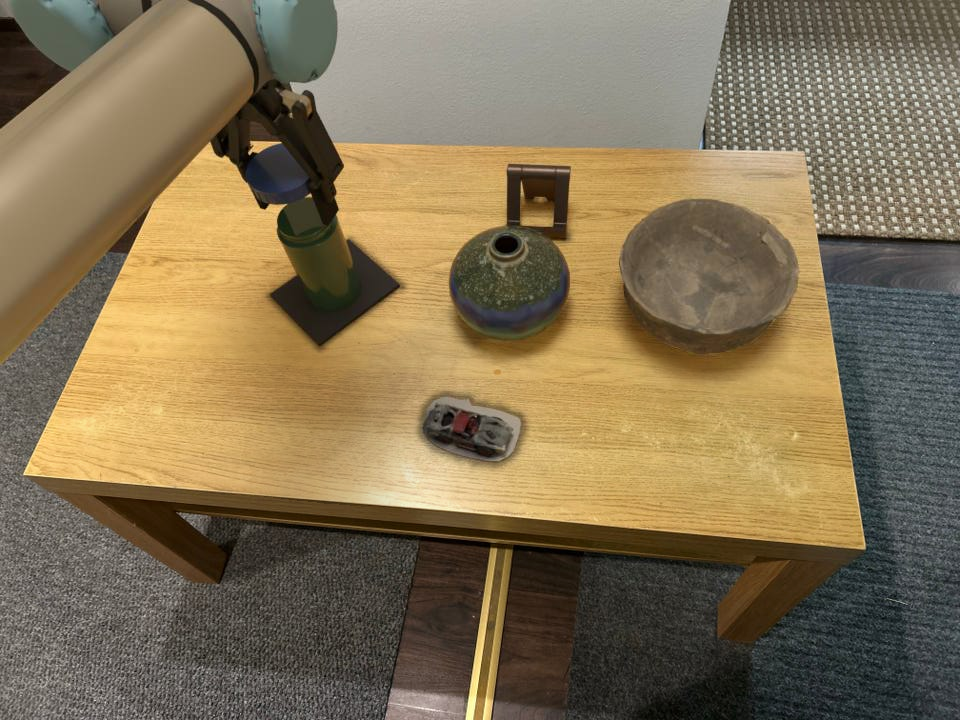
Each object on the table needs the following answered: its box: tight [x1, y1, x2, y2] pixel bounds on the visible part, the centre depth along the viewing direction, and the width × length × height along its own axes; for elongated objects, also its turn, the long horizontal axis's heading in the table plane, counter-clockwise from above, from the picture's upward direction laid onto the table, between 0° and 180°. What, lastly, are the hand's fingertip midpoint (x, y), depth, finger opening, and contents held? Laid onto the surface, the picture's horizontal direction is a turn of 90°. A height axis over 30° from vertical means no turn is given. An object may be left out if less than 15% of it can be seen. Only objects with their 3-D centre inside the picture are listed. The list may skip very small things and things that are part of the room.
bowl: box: [618, 197, 800, 356], centre depth 86 cm, size 21×21×10 cm
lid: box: [246, 142, 311, 206], centre depth 78 cm, size 8×8×2 cm
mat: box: [269, 238, 401, 347], centre depth 96 cm, size 14×12×1 cm
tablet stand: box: [504, 163, 572, 239], centre depth 97 cm, size 9×8×8 cm
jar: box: [276, 196, 361, 311], centre depth 90 cm, size 8×8×14 cm
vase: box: [448, 225, 571, 342], centre depth 87 cm, size 15×15×13 cm
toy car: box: [421, 396, 522, 463], centre depth 82 cm, size 8×12×3 cm
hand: (299, 208), depth 82 cm, fingers closed on lid, 8 cm apart
